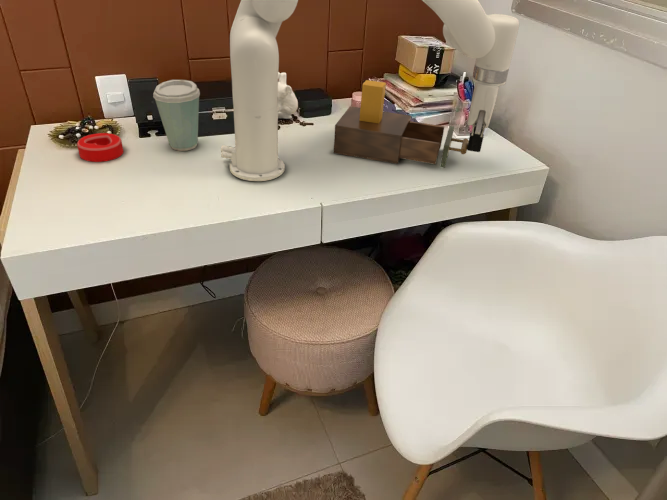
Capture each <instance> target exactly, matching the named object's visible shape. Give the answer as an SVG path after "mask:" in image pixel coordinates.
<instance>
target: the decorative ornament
mask: <svg viewBox="0 0 667 500" xmlns="http://www.w3.org/2000/svg"><path fill="white" fill-rule="evenodd" d="M76 146H77V150H78V151H77V152H78V156H79V157H80V159H81V160H83V161H87V162H90V163H91V162H92V163H101V162H108V161H109V162H110V161H113V160H116V159H118V158H120V157H121V156H122V155H123V154H124V146H123V140H122V138H121V137H120V136H119V135H117V134H115V133H109V132H99V133H98V132H97V133H93V134H88V135H85V136H83V137H81V138H80V139H78V141H77V142H76Z"/></svg>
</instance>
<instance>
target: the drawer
mask: <svg viewBox="0 0 667 500" xmlns="http://www.w3.org/2000/svg"><path fill="white" fill-rule="evenodd" d="M454 130H455V126H454V125H449V126H448V130H447V134H446V136H445V141H444V143H443V149H442V154H441V160H440V164H439V168H443V169H444V168H446V165H447V163H448V162H447V161H448V156H449V153H450V151H453V152H459V153H460V154H461V155H466V154H467V152H468V150H467V147H468V142H469V138H463V139H461V138H454V137H453V135H454ZM444 132H445V126H444V125H437V124H431V123H425V122H419V121H412V120H410V121H409V123H408V125H407V127H406V129H405V131H404V133H403V136H402V139H401V146H400V153H399V158H400V160H401V159H402V160H408V161H413V162H420V163H424V164H425V163H426V164H430V165H431V164H432V165H436V163H437V160H438V157H439V154H440V150H441V147H442V142H443V137H444ZM452 142H457V143H461V148H458V147H453V146H452Z"/></svg>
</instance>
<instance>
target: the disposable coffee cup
mask: <svg viewBox="0 0 667 500" xmlns="http://www.w3.org/2000/svg"><path fill="white" fill-rule="evenodd" d="M152 95H153V96H152V98H153V99H154V101H155V104H156V107H157V110H158V113H159V117H160V119H161V122H162V126H163V129H164V132H165V135H166V138H167V142H168V145H169V146H170V148H171V149H172V150H174V151H178V152H186V151H190V150H193V149H195V148H197V145H198V142H199V116H200V115H199V113H200V111H199V110H200V96H201V91H200V89H199V88H198V86H197V84H196V83H195V82H193V81H192V80H187V79H169V80H167V81H163V82H161V83H159V84H158V85H156V87H155V89H154V91H153V94H152Z"/></svg>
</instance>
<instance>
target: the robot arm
mask: <svg viewBox="0 0 667 500" xmlns="http://www.w3.org/2000/svg"><path fill="white" fill-rule="evenodd" d="M421 1H422V2H423V3H424V4H425V5H426V6H427V7H429V8H430V9H431V10H432V11H433V12H434V13H435V14H436V15H437V16H438V18H439V19H440V20H441V21H442V22H443V26H442V35H443V38H444V40H445V41H446V43H447V44H448V45H449V46H450V47H452V48H453V49H455V50H456V51H457V52H458V53H460V54H462V55H463V56H464V57H466V58H468V59H472V60H473V59H475V61H474V67H473V71H472V72H473V73H472V77H471V80H472V81H473V82H474V83H475V85H474V88H473V93H472V97H471V102H470V106H469V112H468V116H467V121H466V122H467V123H466V125H467V126H468V127H470V126H472V129H471V132H470V134H469V137H468V140H469V142H468V147H467V152H468V151H469V152H476V153H480V152H481V150H482V145H483V141H484V137H485V134H484V132H485V130H486V129H488V128H489V125H490V122H491V119H492V116H493V113H494V109H495V106H496V102H497V97H498V93H499V89H500V87H502V86H505V85H506V84H507V80H508V75H509V71H510V67H511V62H512V59H513V54H514V49H515V45H516V41H517V37H518V34H519V28H520V21H519V19H518V18H517V17H515V16H513V15H510V14H504V13H503V14H502V13H493V14H492V13H491V14H487V13H486V11H485V9H484V8H483V6H482V4H481V2H480V1H479V0H421ZM298 2H299V0H240V3H239V5H238V7H237V11H236V14H235V16H234V20H233V22H232V25H231V28H230V33H229V57H230V59H229V60H230V72H231V91H232V105H233V107H232V109H233V125H234V126H233V127H234V128H233V129H234V144H235V145H234V146H229V145H225V144H222V145H221V147H220V156H221V158H222V159H223V158H224V159H229V160H231V161H230V163H229V172H230V174H232V175H233V176H234V177H235V178H238V179H240V180H243V181H249V182H266V181H271V180H274V179H276V178H278V177H280V176H282V175H283V174H284V173H285V170H286V169H285V167H286V166H285V165H286V164H285V162H284V161H283V160H282V159H281V158H279V118H278V81H279V79H278V72H279V67H280V53H279V45H278V42H277V36H278V33H279V31H280V29H281V25H282V23H283V22H284V21H286V20H288V19H289V18H290V17H291V16H292V15H293V14H294V12H295V10H296V8H297V6H298Z"/></svg>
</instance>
